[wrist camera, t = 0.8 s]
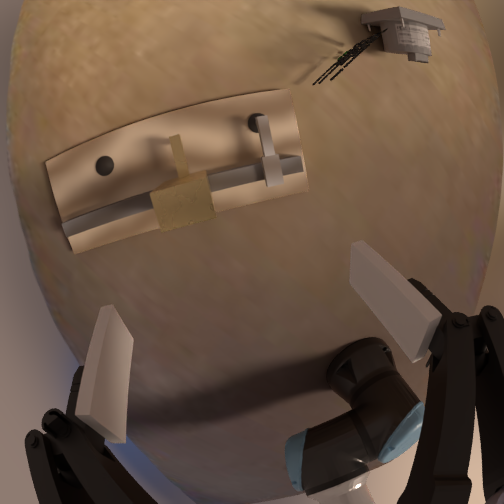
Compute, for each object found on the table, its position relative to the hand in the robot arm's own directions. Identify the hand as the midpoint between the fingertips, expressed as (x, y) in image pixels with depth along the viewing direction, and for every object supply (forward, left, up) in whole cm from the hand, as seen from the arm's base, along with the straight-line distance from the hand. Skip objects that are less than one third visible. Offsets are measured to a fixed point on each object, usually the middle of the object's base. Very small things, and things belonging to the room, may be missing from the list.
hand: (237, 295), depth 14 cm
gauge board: (+6, +5, -24) cm, 25 cm away
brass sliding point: (+6, +3, -22) cm, 22 cm away
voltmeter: (+20, -26, -24) cm, 41 cm away
